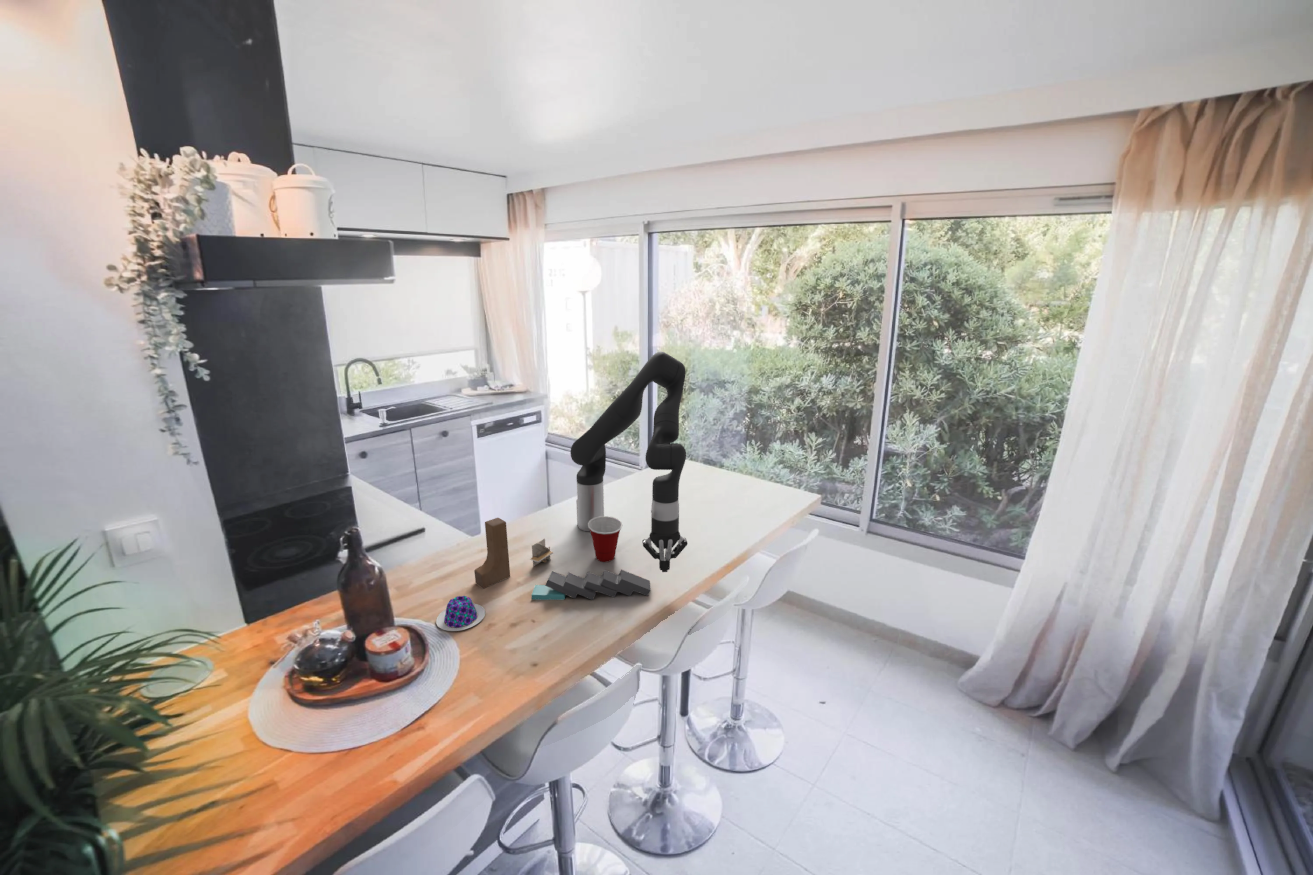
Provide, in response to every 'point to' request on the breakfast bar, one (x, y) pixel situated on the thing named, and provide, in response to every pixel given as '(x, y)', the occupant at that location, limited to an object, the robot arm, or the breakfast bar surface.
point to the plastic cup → (605, 536)
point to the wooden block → (494, 555)
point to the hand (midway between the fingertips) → (664, 570)
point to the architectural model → (540, 552)
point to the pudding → (460, 614)
